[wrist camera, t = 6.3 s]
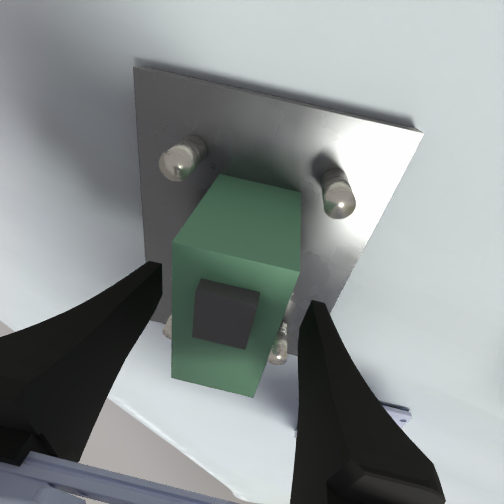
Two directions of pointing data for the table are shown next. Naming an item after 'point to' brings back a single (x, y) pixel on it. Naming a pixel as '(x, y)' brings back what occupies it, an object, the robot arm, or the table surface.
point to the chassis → (265, 176)
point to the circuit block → (233, 282)
